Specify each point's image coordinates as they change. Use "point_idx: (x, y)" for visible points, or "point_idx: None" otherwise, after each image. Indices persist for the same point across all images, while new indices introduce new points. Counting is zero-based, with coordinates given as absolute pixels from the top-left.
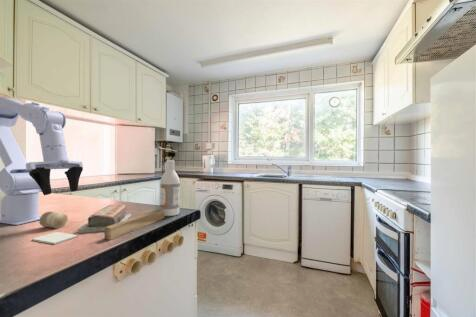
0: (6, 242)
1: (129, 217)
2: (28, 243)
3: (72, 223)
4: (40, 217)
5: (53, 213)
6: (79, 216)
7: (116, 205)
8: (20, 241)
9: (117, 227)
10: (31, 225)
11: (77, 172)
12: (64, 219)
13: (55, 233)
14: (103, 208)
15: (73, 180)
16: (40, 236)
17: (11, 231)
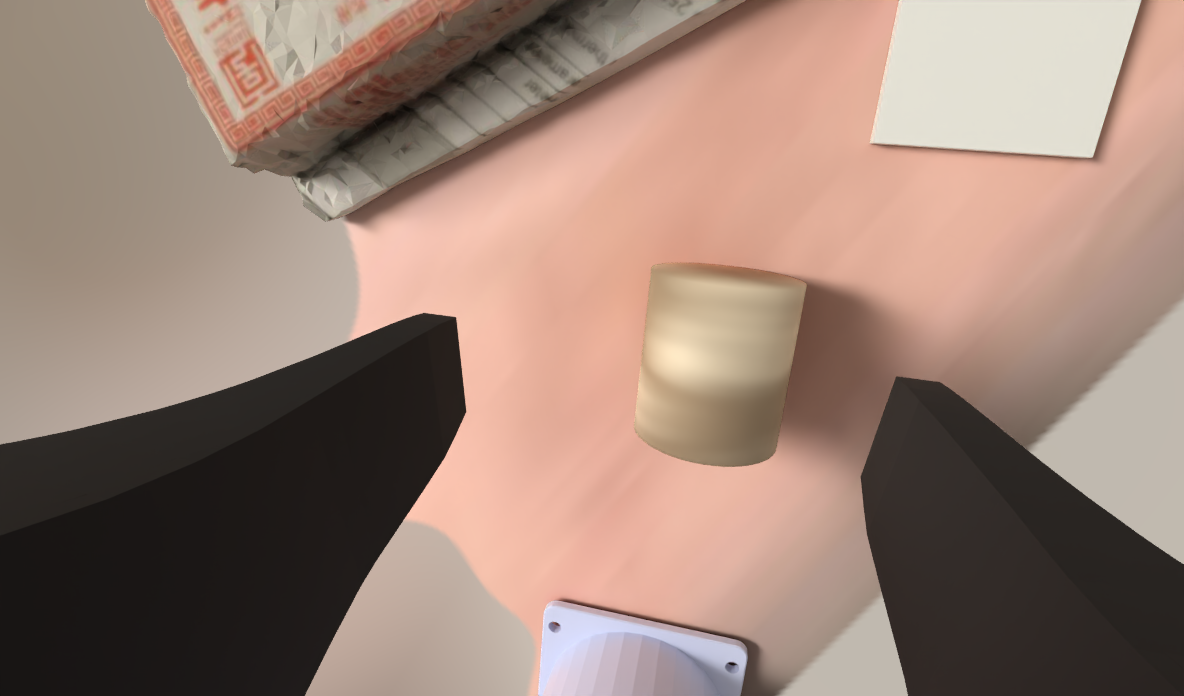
0: (1147, 318)
1: None
2: (1163, 109)
3: (585, 286)
4: (770, 456)
5: (742, 354)
6: None
7: (207, 31)
8: (1113, 233)
9: None
10: (714, 546)
11: (94, 474)
12: (681, 270)
13: (917, 103)
14: (378, 36)
15: (337, 463)
16: (1019, 151)
17: None
